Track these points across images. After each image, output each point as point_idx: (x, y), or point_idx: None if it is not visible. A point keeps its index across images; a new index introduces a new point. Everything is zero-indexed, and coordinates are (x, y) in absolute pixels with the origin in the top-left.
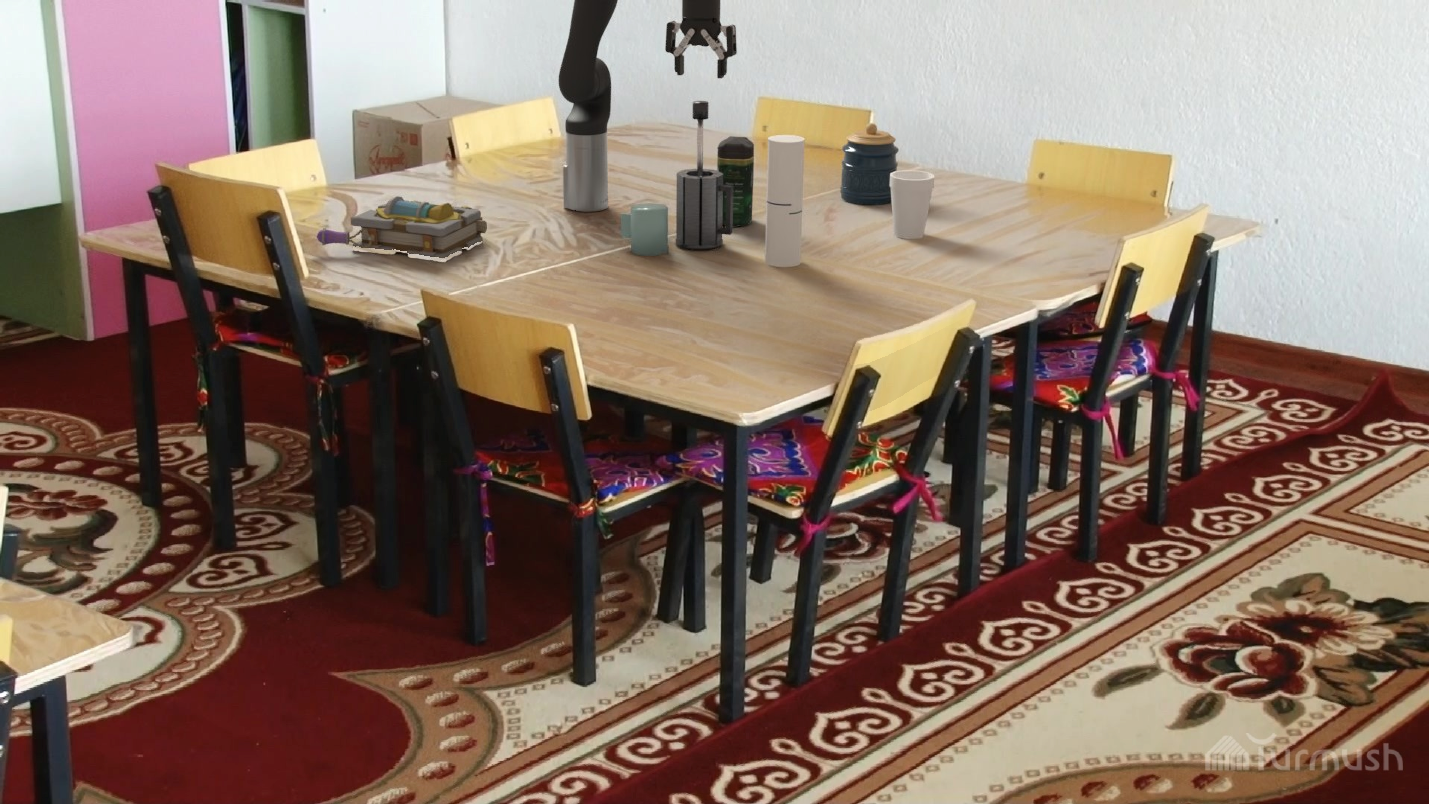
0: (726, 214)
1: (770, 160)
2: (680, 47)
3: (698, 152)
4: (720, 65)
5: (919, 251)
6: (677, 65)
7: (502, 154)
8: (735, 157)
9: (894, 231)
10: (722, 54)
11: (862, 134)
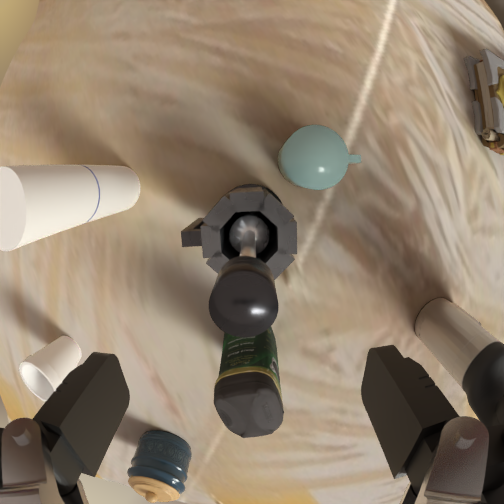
0: (199, 222)
1: (42, 169)
2: (456, 493)
3: (249, 244)
4: (59, 395)
5: (37, 295)
6: (415, 378)
7: None
8: (235, 376)
9: (74, 344)
10: (7, 441)
11: (156, 491)
